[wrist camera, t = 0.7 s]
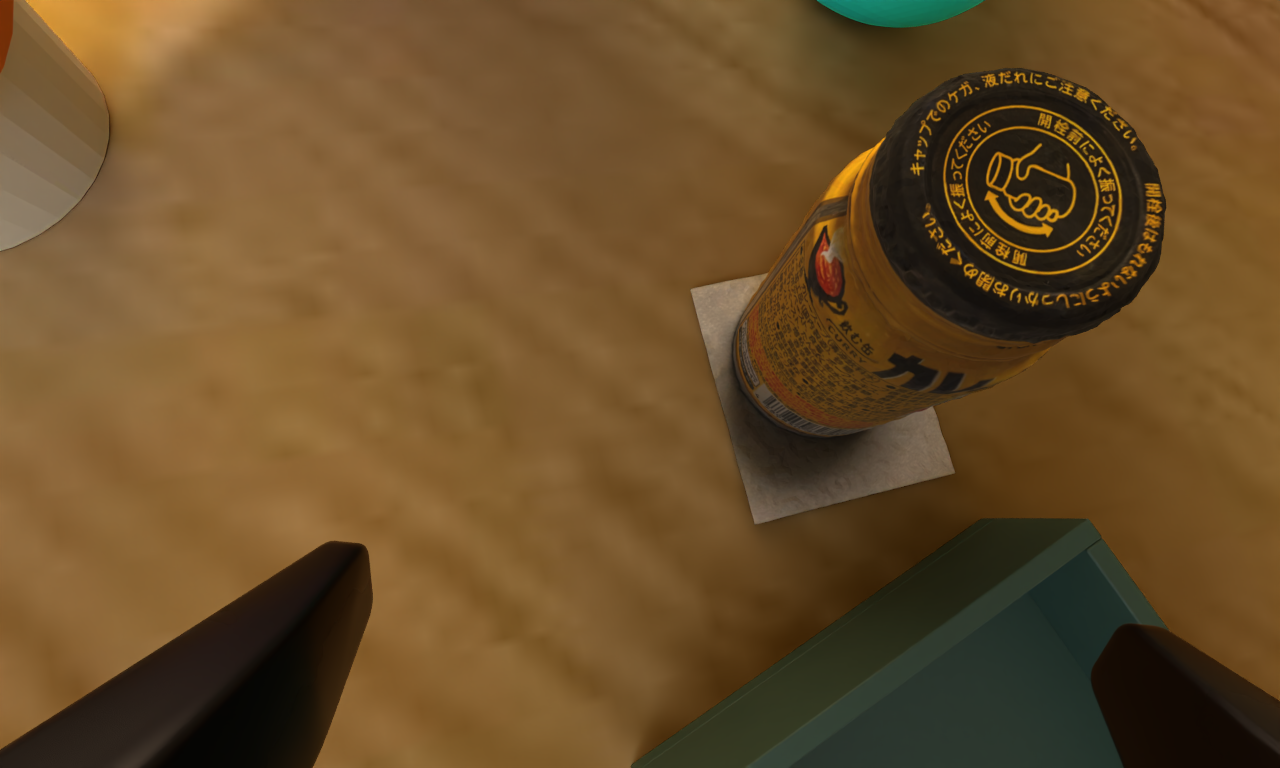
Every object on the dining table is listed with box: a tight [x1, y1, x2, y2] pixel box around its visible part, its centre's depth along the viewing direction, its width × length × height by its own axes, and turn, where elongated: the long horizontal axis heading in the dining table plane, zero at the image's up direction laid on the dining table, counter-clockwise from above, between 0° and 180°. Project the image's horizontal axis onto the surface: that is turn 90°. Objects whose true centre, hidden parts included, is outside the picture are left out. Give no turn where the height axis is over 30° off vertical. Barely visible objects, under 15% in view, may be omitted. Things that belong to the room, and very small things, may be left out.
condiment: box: [690, 68, 1166, 524], centre depth 17 cm, size 7×8×12 cm
